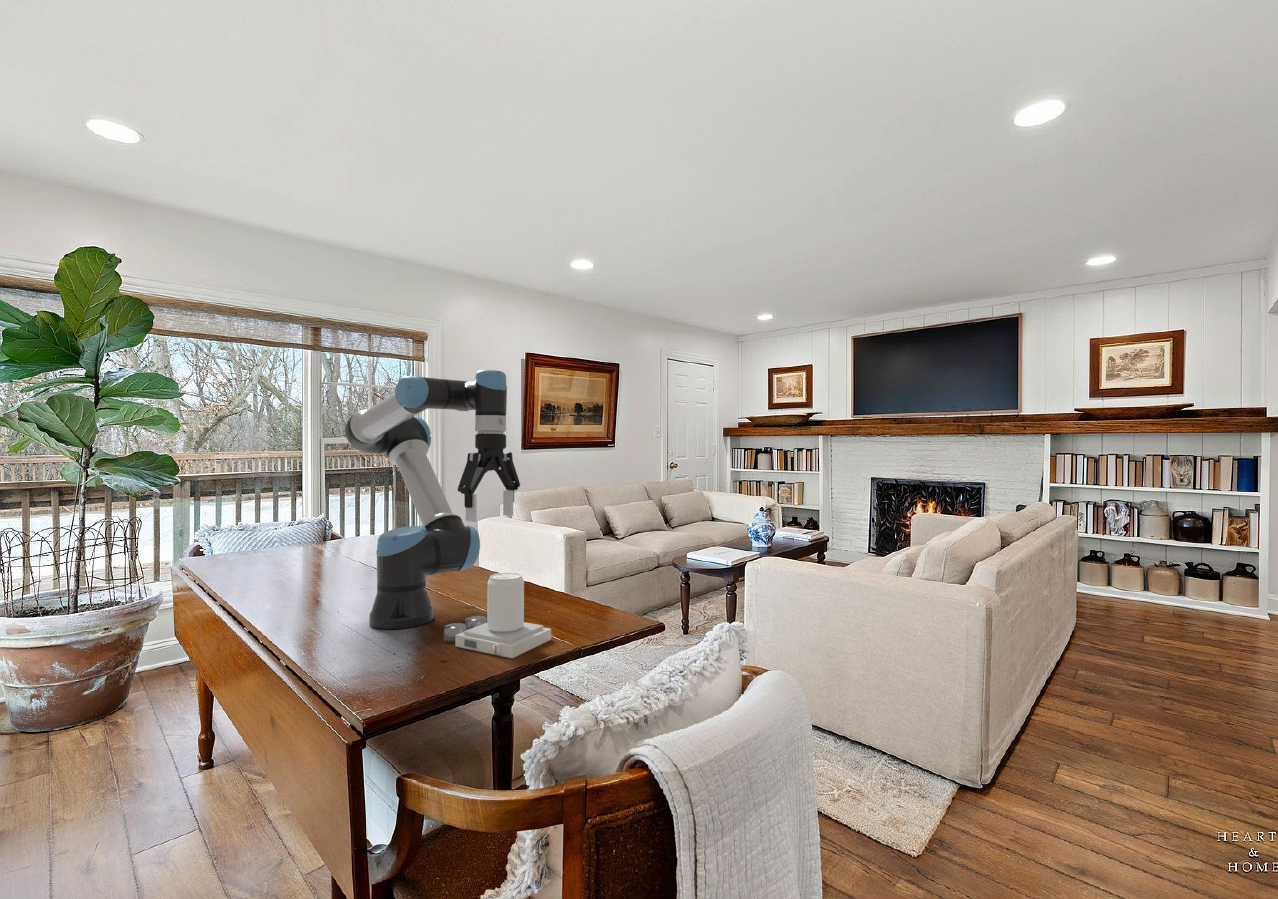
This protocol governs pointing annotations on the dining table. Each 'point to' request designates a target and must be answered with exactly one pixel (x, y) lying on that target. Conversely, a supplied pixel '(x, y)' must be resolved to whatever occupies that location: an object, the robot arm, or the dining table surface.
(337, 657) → the dining table surface
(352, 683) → the dining table surface
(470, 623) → the spacer
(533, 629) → the scale
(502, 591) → the beverage can
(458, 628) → the spacer
